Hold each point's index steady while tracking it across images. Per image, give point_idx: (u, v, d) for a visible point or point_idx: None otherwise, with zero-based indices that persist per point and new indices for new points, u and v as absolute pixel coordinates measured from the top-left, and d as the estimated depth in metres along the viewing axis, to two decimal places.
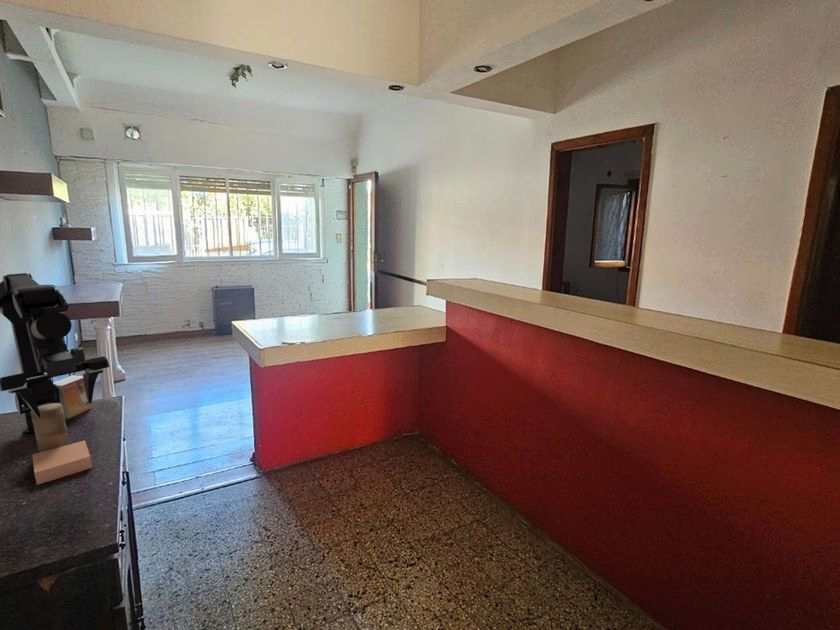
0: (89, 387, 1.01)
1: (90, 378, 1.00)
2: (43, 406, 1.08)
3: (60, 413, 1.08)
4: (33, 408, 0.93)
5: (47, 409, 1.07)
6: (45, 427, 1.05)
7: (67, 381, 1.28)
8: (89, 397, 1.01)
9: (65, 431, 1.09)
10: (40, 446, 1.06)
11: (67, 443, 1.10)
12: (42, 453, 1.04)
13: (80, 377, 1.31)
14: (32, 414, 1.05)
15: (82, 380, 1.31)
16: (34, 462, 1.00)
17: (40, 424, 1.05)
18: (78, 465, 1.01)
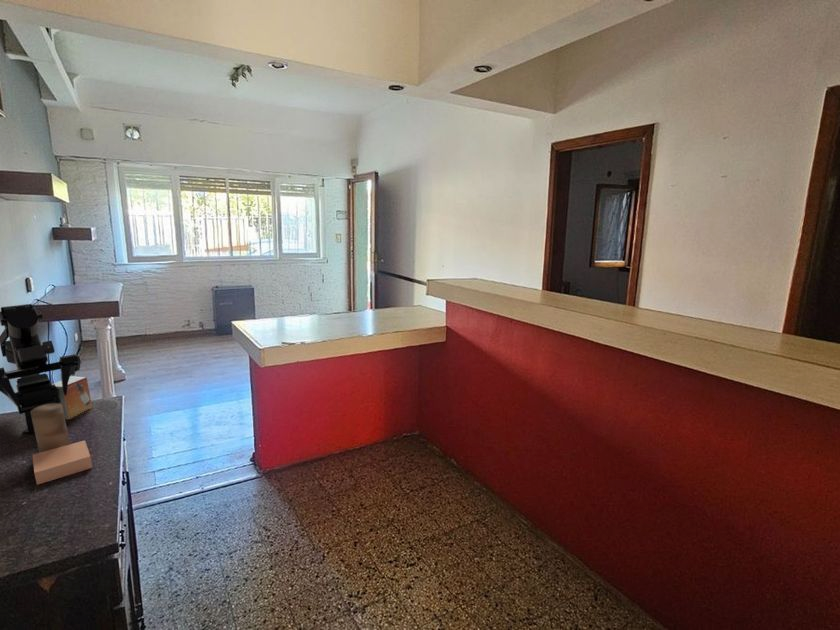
0: (63, 380, 1.14)
1: (63, 371, 1.14)
2: (43, 406, 1.08)
3: (60, 413, 1.08)
4: (12, 397, 1.06)
5: (47, 409, 1.07)
6: (45, 427, 1.05)
7: None
8: (64, 389, 1.13)
9: (65, 431, 1.09)
10: (40, 446, 1.06)
11: (67, 443, 1.10)
12: (42, 453, 1.04)
13: (80, 378, 1.31)
14: (32, 414, 1.05)
15: (82, 381, 1.31)
16: (34, 462, 1.00)
17: (40, 424, 1.05)
18: (78, 465, 1.01)
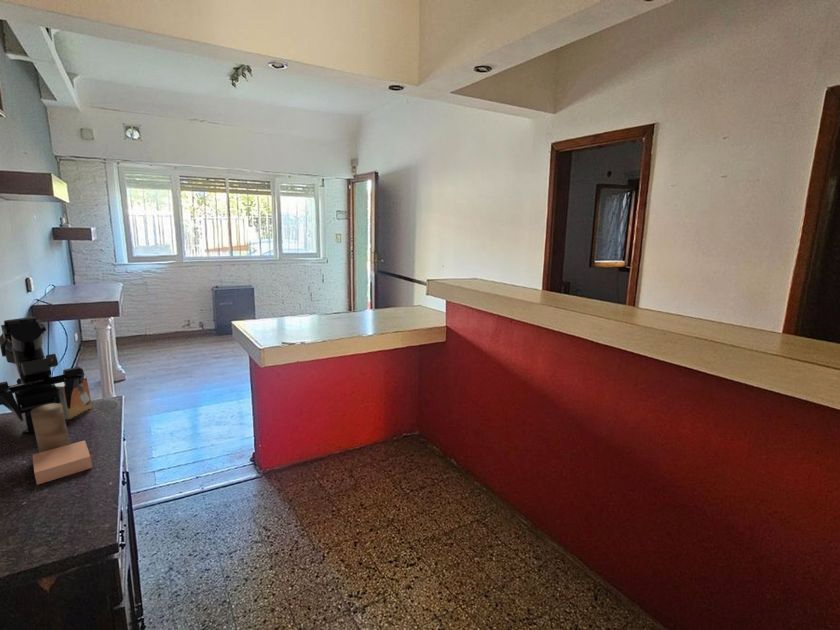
0: (67, 393, 1.13)
1: (67, 384, 1.14)
2: (43, 406, 1.08)
3: (60, 413, 1.08)
4: (16, 411, 1.06)
5: (47, 409, 1.07)
6: (45, 427, 1.05)
7: None
8: (67, 402, 1.13)
9: (65, 431, 1.09)
10: (40, 446, 1.06)
11: (67, 443, 1.10)
12: (42, 453, 1.04)
13: None
14: (32, 414, 1.05)
15: None
16: (34, 462, 1.00)
17: (40, 424, 1.05)
18: (78, 465, 1.01)
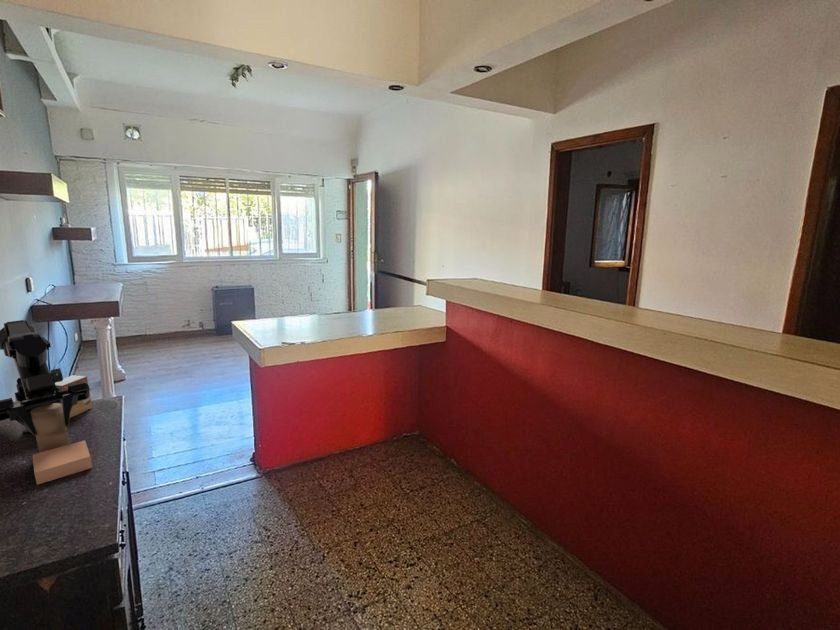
0: (65, 410, 1.10)
1: (65, 401, 1.11)
2: (43, 406, 1.08)
3: (60, 413, 1.08)
4: (29, 426, 1.05)
5: (47, 408, 1.07)
6: (45, 427, 1.05)
7: (67, 381, 1.28)
8: (66, 419, 1.10)
9: (65, 431, 1.09)
10: (40, 446, 1.06)
11: (67, 443, 1.10)
12: (42, 453, 1.04)
13: (80, 377, 1.31)
14: (32, 414, 1.05)
15: (82, 380, 1.31)
16: (34, 462, 1.00)
17: (40, 424, 1.05)
18: (78, 465, 1.01)
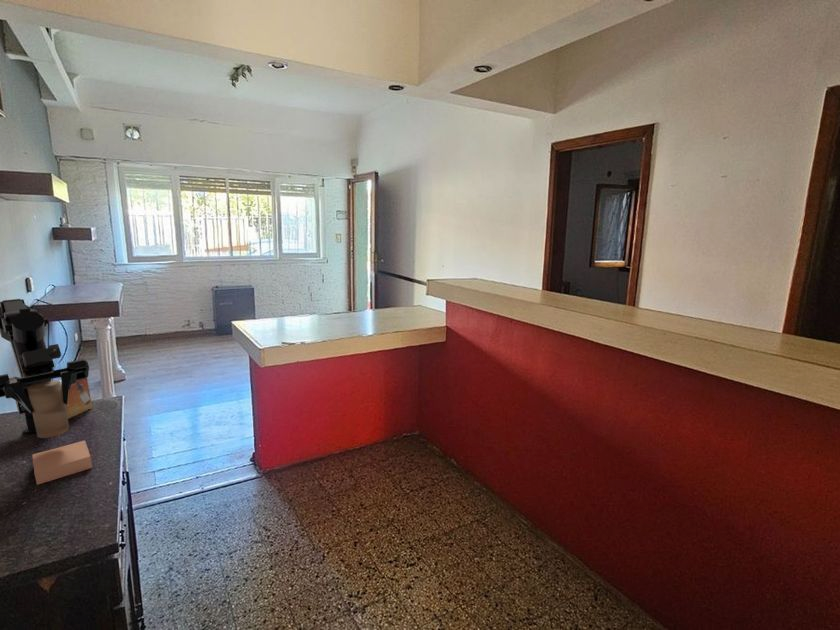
0: (64, 388, 1.06)
1: (64, 379, 1.06)
2: (40, 383, 1.04)
3: (58, 390, 1.03)
4: (25, 403, 1.00)
5: (44, 385, 1.02)
6: (42, 404, 1.01)
7: None
8: (64, 397, 1.05)
9: (64, 409, 1.05)
10: (37, 424, 1.02)
11: (65, 422, 1.05)
12: (42, 453, 1.04)
13: None
14: (29, 390, 1.00)
15: (82, 380, 1.31)
16: (34, 462, 1.00)
17: (37, 401, 1.00)
18: (78, 465, 1.01)
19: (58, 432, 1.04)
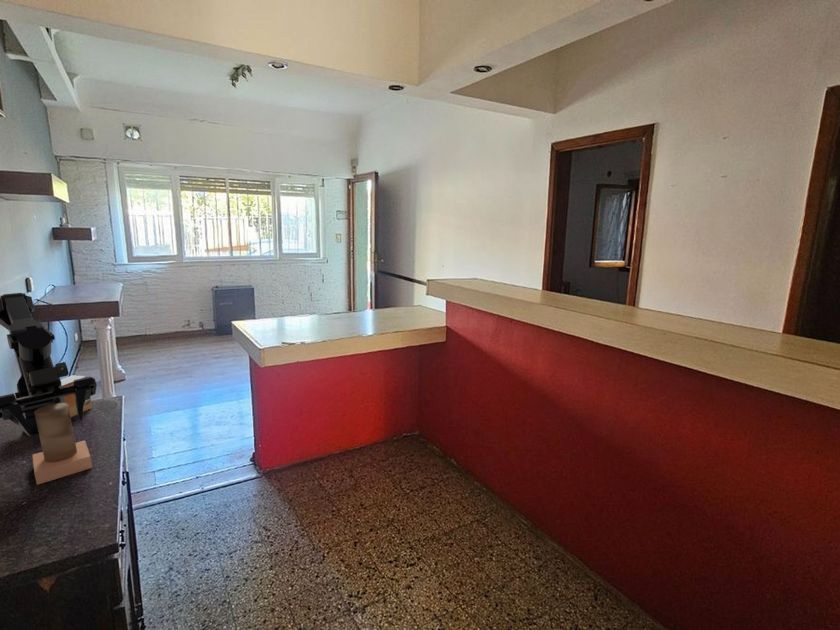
0: (78, 405, 1.04)
1: (78, 396, 1.05)
2: (48, 406, 1.01)
3: (66, 414, 1.01)
4: (23, 425, 0.97)
5: (52, 409, 1.00)
6: (50, 428, 0.98)
7: (67, 381, 1.28)
8: (79, 414, 1.04)
9: (72, 433, 1.03)
10: (44, 449, 0.99)
11: (73, 445, 1.03)
12: (42, 453, 1.04)
13: (80, 377, 1.31)
14: (36, 414, 0.98)
15: None
16: (34, 462, 1.00)
17: (45, 426, 0.98)
18: (78, 465, 1.01)
19: (66, 456, 1.01)
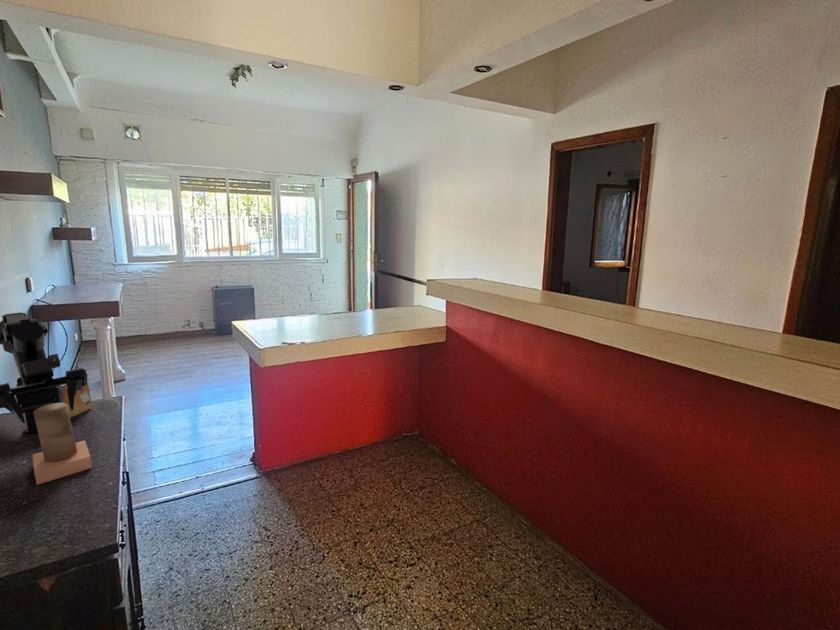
0: (70, 394, 1.10)
1: (70, 386, 1.11)
2: (47, 406, 1.01)
3: (65, 413, 1.01)
4: (17, 413, 1.03)
5: (51, 408, 1.00)
6: (49, 428, 0.98)
7: None
8: (70, 403, 1.10)
9: (71, 432, 1.03)
10: (44, 449, 0.99)
11: (73, 445, 1.03)
12: (42, 453, 1.04)
13: None
14: (35, 414, 0.98)
15: None
16: (34, 462, 1.00)
17: (44, 425, 0.98)
18: (78, 465, 1.01)
19: (65, 456, 1.01)
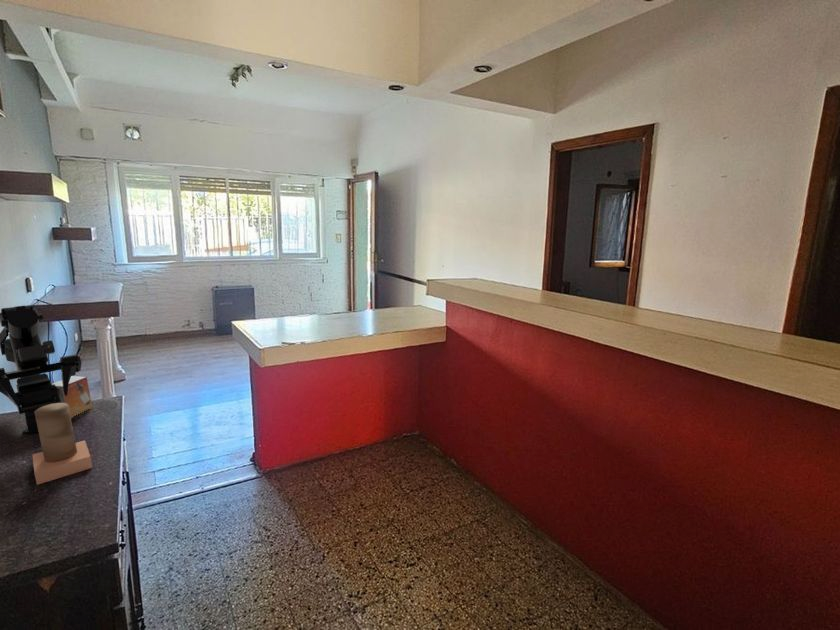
0: (64, 380, 1.13)
1: (64, 372, 1.13)
2: (48, 406, 1.01)
3: (66, 414, 1.01)
4: (12, 397, 1.05)
5: (52, 409, 1.00)
6: (50, 429, 0.98)
7: None
8: (64, 389, 1.12)
9: (71, 433, 1.02)
10: (44, 449, 0.99)
11: (73, 446, 1.03)
12: (42, 453, 1.04)
13: (80, 378, 1.31)
14: (36, 415, 0.98)
15: (82, 381, 1.31)
16: (34, 462, 1.00)
17: (44, 426, 0.98)
18: (78, 465, 1.01)
19: (65, 456, 1.01)
